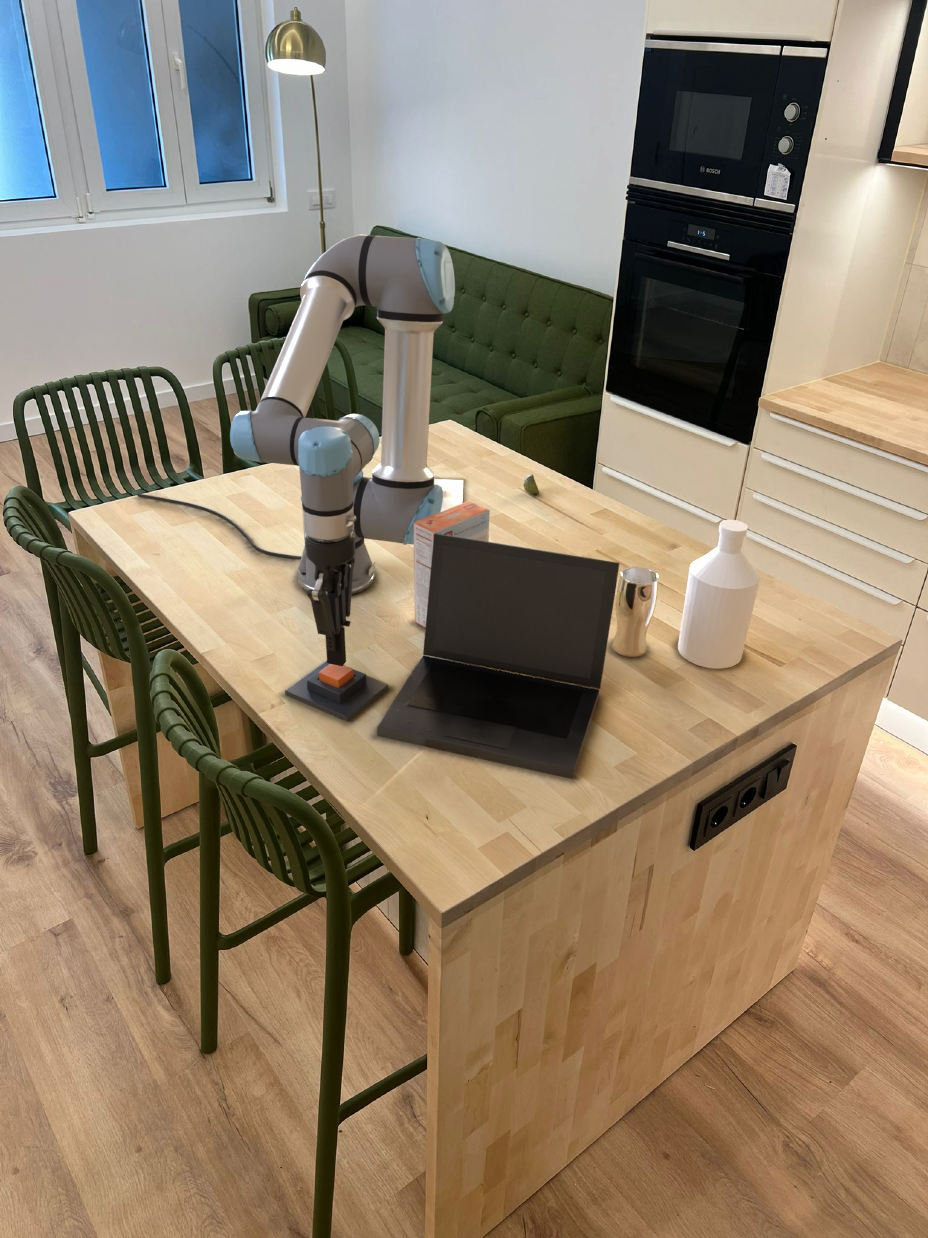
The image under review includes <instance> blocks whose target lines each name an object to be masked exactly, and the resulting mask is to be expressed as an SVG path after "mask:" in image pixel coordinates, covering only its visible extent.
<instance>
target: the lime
mask: <svg viewBox="0 0 928 1238" xmlns="http://www.w3.org/2000/svg"><path fill="white" fill-rule="evenodd" d="M523 489H524V491H525V492H526V493H527V494H530V495H532V496H538V495H540V491H539V487H538V485H537V482H536V480H535V476H534V474H533V473H530V474H528V475H527V476H526V477H525V478H524V481H523Z"/></svg>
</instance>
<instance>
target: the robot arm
mask: <svg viewBox="0 0 928 1238" xmlns="http://www.w3.org/2000/svg"><path fill="white" fill-rule="evenodd" d="M455 281H456V280H455V270H454V264H453V259H452V256H451V253H450V250H449V248H448V246H446V245H445V244H444V243H443V242H441V241H439V240H434V239H428V238H422V237H400V236H399V237H398V236H387V235H386V236H385V235H372V234H355V235H352V236H349V237H346V238H344V239H341V240H340V241H338V242H336V243H334V244H333V245H332V246H331V247H329V248H328V249H327V250H326V251H324V252H323V253H322V254H321V255H320V256H319V257H318V258H317V259H316V261H315V262H314V263H313V264H312V266H311V267H310V268H309V270H308V271H307V273H306V274H305V277H304V279H303V281H302V284H301V286H300V289H299V295H300V299H301V302H300V304H299V306H298V309H297V312H296V314H295V316H294V318H293V321H292V323H291V326H290V328H289V330H288V333H287V335H286V338H285V340H284V343H283V345H282V348H281V350H280V353H279V355H278V357H277V360H276V362H275V364H274V367H273V369H272V371H271V374H270V376H269V378H268V381H267V383H266V386H265V388H264V390H263V393H262V396H261V398H260V399H259V402H258V405H257V407H256V409H255V410H250V409H249V410H241V411H239V412H238V413H237V414H235V416H234V417H233V419H232V422H231V425H230V430H229V431H230V432H229V439H230V440H229V441H230V445H231V448H232V450H233V453H234V454H235V455H236V456H237V457H238V458H240V459H243V460H247V461H253V462H257V463H261V464H264V463H268V464H277V465H287V466H297V467H298V468H299V470H298V471H299V480H300V492H301V496H300V501H301V509H302V511H301V512H302V525H303V526H302V527H303V536H304V537H303V538H304V547H303V551H302V552H301V553H302V554H301V555H292V554H285V553H280V552H279V553H278V552H272V551H268V550H265V549H263V548H260V546H258V545H256V544H255V542H254V540H253V539H252V538H251V536H249V535H248V534H247V533H246V532H245V530H243V529H242V528H241V527H240V526H239V525H238V524H237V523H235V522H234V521H233V520H232V519H230V518H228V517H227V516H225V515H223V514H222V513H220V512H218V511H215V510H213V509H210V508H208V507H205V506H202V505H198V504H195V503H191V502H186V501H182V500H176V499H171V498H166V497H161V496H155V495H151V494H150V495H149V494H144V493H137V494H136V496H137V497H138V498H142V499H149V500H154V501H160V502H165V503H170V504H171V503H172V504H174V505H175V504H176V505H182V506H186V507H190V508H194V509H197V510H200V511H204V512H207V513H209V514H212V515H214V516H216V517H218V518H220V519H222V520H224V521H225V522H227V523H228V524H230V525H231V526H232V527H234V528H235V529H236V530H237V531H238V532H239V533H240V534H241V536H243V537H244V538H245V539H246V540H247V541H248V543H249V544H250V546H251V548H253V549H254V550H255V551H257V552H258V553H261V554H263V555H266V556H270V557H275V558H281V559H289V560H297V561H299V564H298V567H297V582H298V584H299V586H300V587H301V588H302V589H303V590H304V591H307V592H306V595H307V597H308V599H309V600H310V604H311V608H312V612H313V618H314V621H315V626H316V631H317V634H318V635H321V636H322V635H323V636H324V637H325V649H326V650H325V651H326V652H325V653H326V661H327V663H328V664H333V665H338V666H343V665H345V664H346V662H347V650H346V632H345V631H346V630H345V627H348V628H349V627H350V626H351V621H350V620H347V618H349V617H350V616H351V609H352V595H355V594H358V593H361V592H363V591H365V590H366V589H369V587H370V586H372V584H373V583H374V581H375V569H376V562H373V561H372V559H371V556H370V554H369V551H368V549H367V545H366V543H365V539H366V540H372V541H374V540H375V541H379V542H388V543H397V544H402V545H404V546H406V545H414V522H416V521H419V520H421V519H424V518H427V517H429V516H432V515H435V514H437V513H440V512H441V507H442V501H443V489H442V487H441V486H439V485H437V484H435V485H434V474H435V473H434V471H432V469H431V468H430V467H429V466H428V448H429V432H430V431H429V430H430V429H429V428H430V409H431V392H432V391H431V389H432V370H433V352H434V351H433V350H434V333H435V332H436V330H437V329H438V328H439V327H440V326H441V325H442V324H443V322H444V315H446V314H449V313H450V312H451V311H452V310H453V308H454V303H455V297H456V282H455ZM359 306H366V307H375V308H376V319H377V321H378V322H379V323H380V324H381V325H382V327H383V328H384V352H383V353H384V356H383V357H384V358H383V384H382V385H383V386H382V387H383V388H382V390H383V391H382V412H381V413H382V416H381V417H382V418H381V439H380V433H379V430H378V428H377V426H376V424H374V422H373V421H372V420H371V419H370V418H368V417H367V416H365V415H363V414H359V413H350V414H347V415H345V416H343V417H340V418H339V419H337V420H334V419H333V420H332V419H324V418H314V417H313V418H312V417H306V416H307V414H308V412H309V409H310V406H311V404H312V401H313V399H314V396H315V394H316V391H317V389H318V386H319V383H320V380H321V379H322V376H323V373H324V371H325V368H326V366H327V364H328V361H329V358H330V356H331V353H332V350H333V349H334V345H335V343H336V340H337V338H338V336H339V332H340V330H341V328H342V325H343V322H344V321H346V320H347V319H349V318H350V317H351V316H352V315H353V313H354V311H355V308H356V307H359ZM380 440H381V444H380ZM380 445H381V447H380V448H381V449H380V450H381V451H380V463H379V464H378V465H377V466H376V467H375V468H374V469H372V473H371V477H367V476H364V472H363V469H364V468H365V467H366V466H367V465H368V464H370V462H371V461H372V460H373V458H374V455H375V454H376V452H377V450H378V449H379V446H380Z"/></svg>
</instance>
